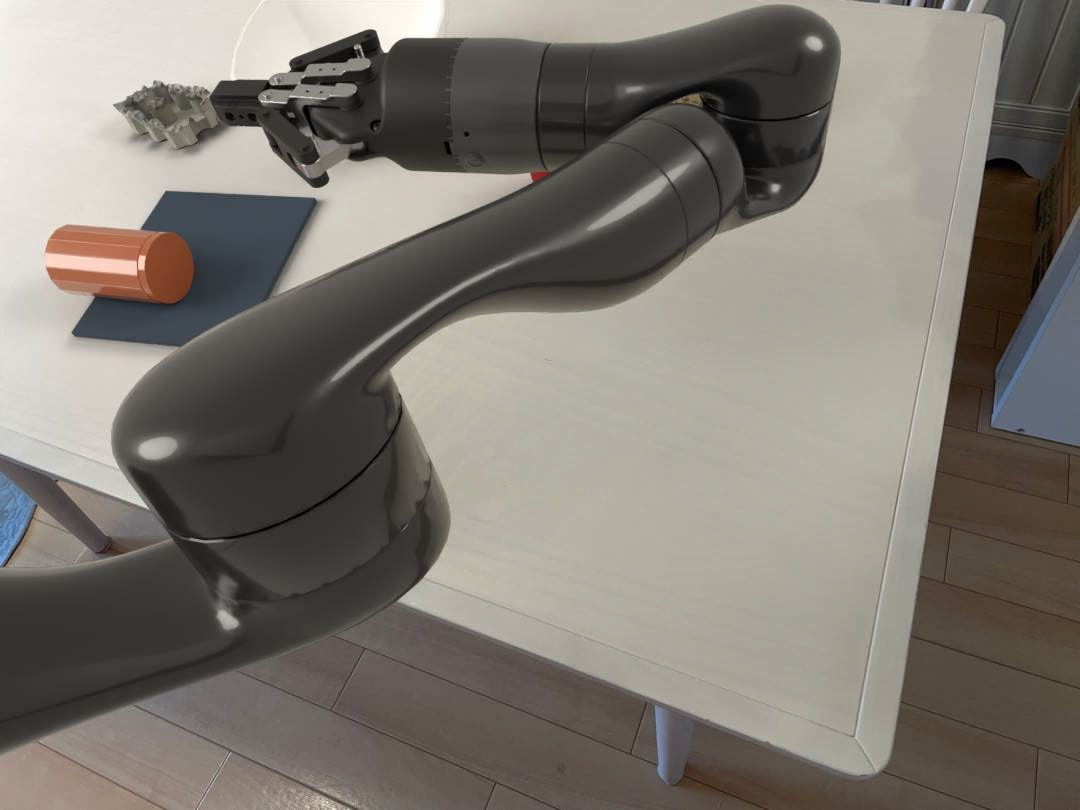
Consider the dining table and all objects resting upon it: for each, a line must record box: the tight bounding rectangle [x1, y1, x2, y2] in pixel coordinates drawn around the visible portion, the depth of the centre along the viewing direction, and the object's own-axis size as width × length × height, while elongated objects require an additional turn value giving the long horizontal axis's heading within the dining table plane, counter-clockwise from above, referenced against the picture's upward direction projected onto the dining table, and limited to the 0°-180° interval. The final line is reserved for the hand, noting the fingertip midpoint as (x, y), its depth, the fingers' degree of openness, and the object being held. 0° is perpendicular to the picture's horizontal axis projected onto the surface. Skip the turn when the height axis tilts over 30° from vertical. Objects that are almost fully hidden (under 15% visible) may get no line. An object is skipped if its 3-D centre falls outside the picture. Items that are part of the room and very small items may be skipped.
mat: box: [70, 190, 318, 348], centre depth 79 cm, size 20×18×1 cm
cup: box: [44, 223, 194, 304], centre depth 75 cm, size 7×7×11 cm
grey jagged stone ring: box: [112, 79, 219, 150], centre depth 92 cm, size 11×8×4 cm
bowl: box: [229, 0, 451, 81], centre depth 84 cm, size 22×22×12 cm
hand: (219, 102), depth 51 cm, fingers closed
